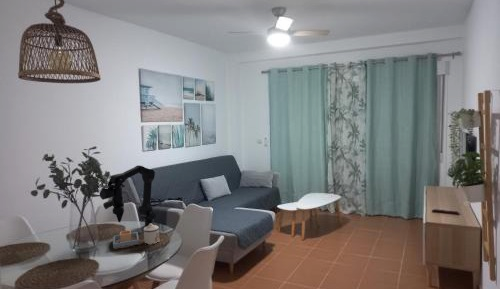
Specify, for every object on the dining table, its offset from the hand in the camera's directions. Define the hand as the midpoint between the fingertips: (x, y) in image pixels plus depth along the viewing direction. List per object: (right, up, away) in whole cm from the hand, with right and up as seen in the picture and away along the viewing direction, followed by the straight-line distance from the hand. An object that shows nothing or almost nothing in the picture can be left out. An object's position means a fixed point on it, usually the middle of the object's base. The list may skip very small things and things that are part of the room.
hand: (119, 219), depth 209 cm
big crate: (+7, -13, -7) cm, 16 cm away
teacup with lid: (+22, -12, -5) cm, 26 cm away
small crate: (+7, -12, -7) cm, 15 cm away
